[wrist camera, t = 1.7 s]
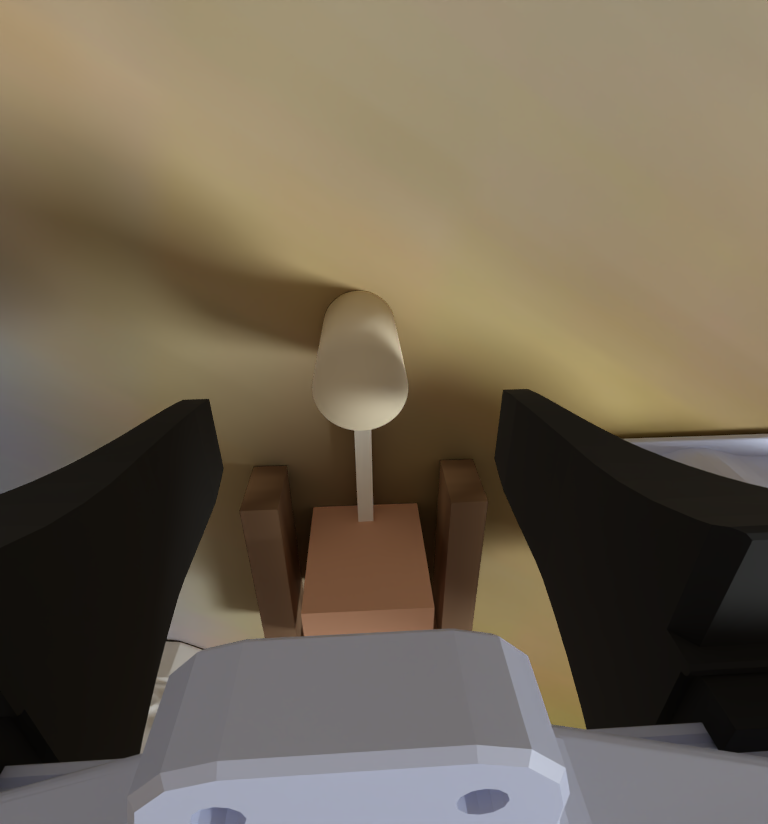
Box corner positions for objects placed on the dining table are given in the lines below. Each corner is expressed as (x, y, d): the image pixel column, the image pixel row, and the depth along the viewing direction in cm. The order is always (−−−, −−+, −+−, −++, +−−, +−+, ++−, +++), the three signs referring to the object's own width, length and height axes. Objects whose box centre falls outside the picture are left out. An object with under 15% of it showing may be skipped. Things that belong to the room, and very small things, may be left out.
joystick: (424, 289, 18) (451, 349, 13) (414, 575, 26) (429, 686, 21) (291, 292, 18) (265, 353, 13) (320, 579, 26) (311, 692, 20)
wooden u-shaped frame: (472, 459, 22) (488, 501, 20) (457, 605, 27) (468, 655, 24) (253, 466, 22) (239, 510, 19) (278, 614, 27) (270, 665, 24)
